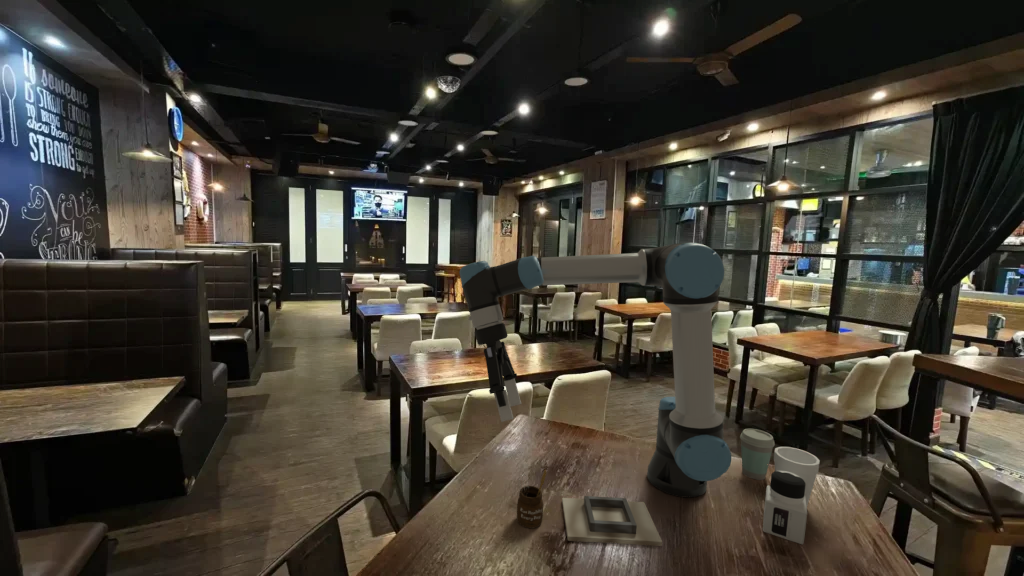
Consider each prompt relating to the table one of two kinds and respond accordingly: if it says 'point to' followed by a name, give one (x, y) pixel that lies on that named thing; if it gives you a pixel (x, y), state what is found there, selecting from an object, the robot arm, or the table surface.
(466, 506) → the table surface
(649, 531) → the collar board
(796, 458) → the foam cup
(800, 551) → the table surface
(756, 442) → the coffee cup
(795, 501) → the container
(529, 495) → the utensil holder
